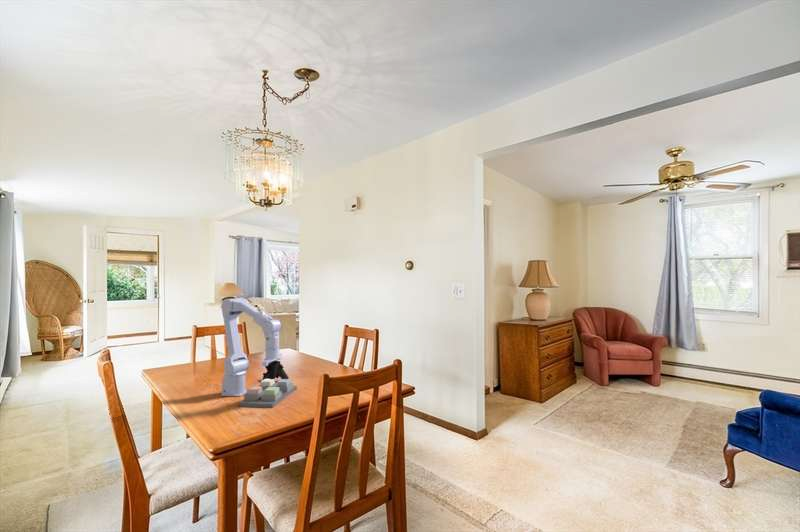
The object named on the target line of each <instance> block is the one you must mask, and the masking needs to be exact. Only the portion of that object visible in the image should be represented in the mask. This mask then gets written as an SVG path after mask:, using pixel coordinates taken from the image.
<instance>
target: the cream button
mask: <svg viewBox="0 0 800 532" xmlns="http://www.w3.org/2000/svg"><path fill="white" fill-rule="evenodd" d="M275 379H276V378H275ZM275 379H264V380H263V379H262V380H261V381H260V385H261V386H271V385H273V384H274V383H276V382H275V381H276V380H275Z"/></svg>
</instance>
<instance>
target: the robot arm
mask: <svg viewBox="0 0 800 532" xmlns="http://www.w3.org/2000/svg"><path fill="white" fill-rule="evenodd" d="M220 306H221V308H220V309H221V313H222V318H223V322H224V323H223V325H224V331H225V336H226V344H227V350H228V355H227V356H226V357H225V359H224V360H223V361H224V366H223V367H224V368H223V370H224V373H225V375H224V376H223V377H222V380H221V394H220V396H221V397H241V396H243V395H244V394H246V393H247V389H246V373H247V371H248V370H250V369H249V368H250V361H249V360H248V359H249V358H248V356H247V354H246V353H245V352H243V351H242V346H241V345H242V344H241V340H240V333H239V327H238V322H237V321H238V320H237V318H238V317H239V316H241V315H242V314H243V313H244V314H246V315H248V316H250V317H251V318H252V321H253V323H255V324H256V325H258V326H259V327H261V330H262V333H263V336H264V340H265V345H264V346H265V347H264V348H265V349H264V350H265V354H264V355H265V356H264V357H265V358H264V359H263V361H262V362H261V364H262V365H261V366H262V367H265V369H266V372H268V375H269V379H277V378H276V374H277V370H278V367H279V365H280V364H281V360H282V357H283V355H282V353H280V332H281V331H282V329H283V324H282V321H281V320H280V319H279V318H273V317H272V316H270V315H268V313H266V311H264V310H259V311H258V310H257V309H256V308H255V307H254V306H253V305H252V304H251V303H250V302H249V299H246V298H245V297H238V298H236V297H235V298H225V299H224V300H223V301H222V303H221V305H220Z"/></svg>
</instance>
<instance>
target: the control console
mask: <svg viewBox="0 0 800 532" xmlns="http://www.w3.org/2000/svg"><path fill="white" fill-rule="evenodd" d="M258 387H262V392H260V393H259V394H257V395H254V394H247V393H245V394H243V395H244V396H243V399H242V400H240V401H239V402H238V407H242V408H243V407H246V408H247V407H249V408H274V407H276V406H277V405H278V404H279V403H281V402H282V401H283V400H285V399H286V398H288V396H290V395H291V394H292V393H293V392H295V391H296V390H298V385H294V382H291V384H290V385H289V386H287V387H283V386H277V382H275V383H274V384H273V385H271V386H261V384H259V385H258ZM268 387H279V393H277V394H276V395H264V390H265V389H267V388H268Z"/></svg>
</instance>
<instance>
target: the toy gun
mask: <svg viewBox="0 0 800 532" xmlns="http://www.w3.org/2000/svg"><path fill="white" fill-rule="evenodd" d="M262 375H263V376H262V380H264V379H269V375H268V372H267V371H266V372H263V373H262ZM278 378H280V380H281V379H289V376H288V374H287V373H286V371H285V369H284V365H283V364H282V363H280V365H279V367H278V370H277V374H276V378H275V379H278Z"/></svg>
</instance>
